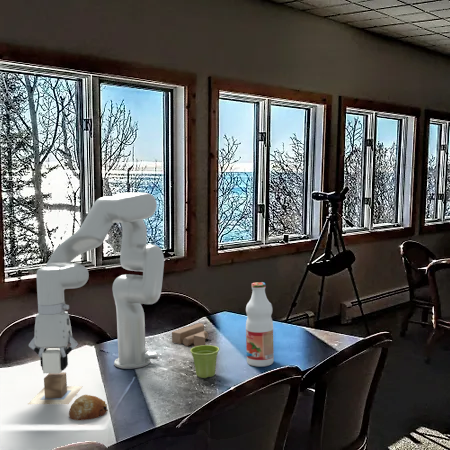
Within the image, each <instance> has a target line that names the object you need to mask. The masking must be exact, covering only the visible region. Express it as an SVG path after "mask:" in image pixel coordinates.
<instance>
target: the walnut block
mask: <svg viewBox="0 0 450 450" xmlns="http://www.w3.org/2000/svg"><path fill="white" fill-rule="evenodd" d="M67 379H68V378H67V372H65V371H64V372H63V371H62V372H61V373H47V375H46V376H45V377H44V378H43V386H44V387H43V388H44V390H45V398H62V397H63V396H64V395H65V394H66V392H67V386H68V384H67Z"/></svg>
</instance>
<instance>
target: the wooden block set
mask: <svg viewBox="0 0 450 450" xmlns="http://www.w3.org/2000/svg"><path fill="white" fill-rule="evenodd" d="M208 337H209V333H208V332H207V331H206V330H205V324H204V323H201V322H199V323H195V324H192V325H190V326H189V325H188V326H185V327H182V328H178V329H176V330H173V331H172V332H171V342H172V343H174V344H179V345H181V344H183V345H184V347H185V346H186V347H188V346H191V345H193V347H196V346H201V345H206V339H208Z"/></svg>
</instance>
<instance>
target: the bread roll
mask: <svg viewBox="0 0 450 450" xmlns="http://www.w3.org/2000/svg"><path fill="white" fill-rule="evenodd" d="M107 406H108V405H107V403H106V401H105V400H103V399H101V398H100V397H99V396H98V397H97V396H94V395H91V394H83V395H81V396H78V397H77V398H75V400H74V401H73V402H72V404H71V406H70V408H69V412H68V416H69V419H71V420H74V421H87V420H93V419H97V418H100V417H103V416H105V415H106V414H107V411H108V412H109V409H107V408H108V407H107Z"/></svg>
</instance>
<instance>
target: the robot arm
mask: <svg viewBox="0 0 450 450" xmlns="http://www.w3.org/2000/svg"><path fill="white" fill-rule="evenodd" d="M157 205H158V204H157V200H156V198H155V196H153V194H151V193H148V192H121V193H116V194H114V195H113V196H102V197H99V198H97V199H96V200H95V201H94V203H93V205H92V206H91V207H90V210H89V211H88V213H87V215H86V217H85V218H84V221H82V223H81V226H79V227H80V228H79V229H78V230H77V232H75V233H74V234H72V235H70V236H69V237H68V238H67V239H65V241H63V242H62V243H61V244H59V245H58V246H57V247H56V249H54V251H53V252H52V253H51V256H50V257H49V259H48V261H47V263H46V265H45V266H44V267H41V268H39V269H37V270H36V292H37V294H36V295H37V311H38V313H36V314H35V320H34V321H35V322H34V323H35V324H34V336H33V338H32V339H31V340H30V342H29V343H28V347H29V348H30V349H31V350H33V352H35V353H36V354H37V355H38V357H39V359H40V367H41V370H42V371H43V359H42V353H43V352H45V351H46V350H47V349H48V348H60V351H61V354H62V357H61V370H63V371H65V370H66V368H67V367H68V365H69V361H68V359H69V358H68V355H69V354H70V353H71V352H72V351H73V350H74V349H75V348H77V346H78V345H79V343H78V341H77V339H75V338H74V336H73V333H72V326H71V320H70V315H69V312H68V311H66V310H69V309H70V305H69V304H66V301H65V290H69V289H78V288H81V287H83V286H85V285H86V283H87V282H88V280H89V278H90V277H89V275H90V274H89V270H88V268H87V267H85V266H84V265H83V264H80V263H77V262H76V263H74V262H72V261H73V260H74V259H76V258H77V257H78V256H80V255H82V254H84V253H87V252H89V251H92V250H94V249H96V248H98V247H100V246H102V244H103V243H104V240H105V239H106V237H107V235H108V233H109V231H110V230H111V228H112V226H113V224H115V223H120V225H121V228H122V229H121V230H122V235H121V247H120V257H119V263H120V266H121V268H123V269H125V270H127V271H132V272H133V271H134V272H142V275H139V274H130V273H129V274H127V273H125V274H121V275H119V276H117V277H116V278H115V279H114V281H113V283H112V288H111V289H112V296H113V300H114V304H115V310H116V330H117V331H116V333H117V350H118V351H117V353H118V355H117V356H118V357H117V358H115V360H114V362H113V363H114V366H115V367H117V368H118V369H126V370H127V369H128V370H131V369H133V370H134V369H140V368H143V367H146V366H149V364H150V363H151V360H158V359H159V353H156V351H152V352H151V351H148V348H147V347H146V328H145V327H146V324H145V312H144V308H143V306H142V305H143V304H144V305H153V304H156V303H157V302H158V301H159V299H160V297H161V294H162V287H163V277H164V270H165V269H164V267H165V256H164V252H163V250H162V248H161V247H160V246H158V245H155V244H150V243H149V244H148V243H147V236H148V234H147V233H148V231H147V230H148V229H147V225H146V224H145V221H144V220H145V219H149V218H151V217H152V216H153V215H154V214H155V213H156V212H157V211H156V210H157V207H158V206H157ZM69 344H70V346H68V345H69Z"/></svg>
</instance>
